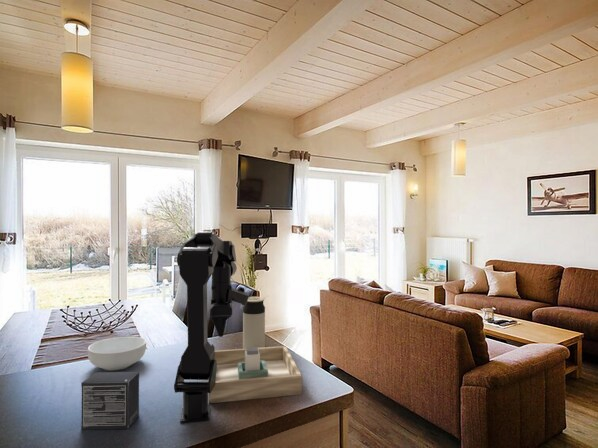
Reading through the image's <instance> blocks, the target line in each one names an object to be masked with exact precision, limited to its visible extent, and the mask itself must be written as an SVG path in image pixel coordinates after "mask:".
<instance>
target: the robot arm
mask: <svg viewBox="0 0 598 448" xmlns="http://www.w3.org/2000/svg"><path fill="white" fill-rule="evenodd" d="M235 249H236V248H235V245H234V244H233V242H232V240H222V239H221V238H220V237H219V236H217V234H216V232H213V231H196V232H195V233H194V234H193V237H191V238H190V239H188V240H186V241H185V242H184V243H182V245H181V246H180V249H179V251H178V254H177V257H176V262H177V263H176V264H177V266H178V270H179V275H180V277H181V279H182V280H183V281H184V284H185V285H186V292H187V293H186V300H187V302H186V303H187V304H186V305H187V306H186V309H187V313H186V314H187V347H185V350H184V351H183V353H182V355H181V356H180V361H179V364H178V366H177V370H176V374H175V380H174V382H173V383H174V384H173V390H174V393H175V394H176V393H177V394H178V393H182V408H181V413H180V418H179V423H191V422H200V421H201V422H202V421H208V420H210V414H211V413H210V412H211V411H210V410H211V405H210V403H209V393H211V391H212V390H213V388H214V386H215V382H216V370H217V361H216V360H215V354H214V352H215V351H216V349H215V346H214V344H211V343H210V342H209V340H208V337H209V336H208V282H209V280H210V278H211V297H210V308H209V315H210V318H211V321H212V323H213V325H214V327H215V330H216V333H217V335H218V337H219V338H222V337H223V336H224V334H225V328H226V324H227V320H228V319H229V318H231V317H232V315H233V306H232V303H233V302H235V303H238V304H241V305H242V306H244V305H246V303H247V301H248V298H249V297H250V295H249V293H248V292H245V287H243V286H239V287H237V288H233V287H232V284H231V281H232V280H231V277H232V276H234V275H235V274H236V272H237V269H238V268H237V264H236V262H237V256H236V254H237V253H236V250H235ZM185 380H187V381H185ZM188 380H189V381H188ZM191 380H192V381H191ZM193 380H195V381H193ZM196 380H197V381H196ZM199 380H200V381H199ZM201 380H202V381H201Z"/></svg>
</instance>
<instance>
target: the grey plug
mask: <svg viewBox="0 0 598 448" xmlns="http://www.w3.org/2000/svg"><path fill="white" fill-rule="evenodd" d="M251 370H260V353H259V350H258V348H257V347H250V348H246V351H245V371H251Z"/></svg>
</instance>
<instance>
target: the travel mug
mask: <svg viewBox="0 0 598 448" xmlns="http://www.w3.org/2000/svg"><path fill="white" fill-rule="evenodd" d="M264 301H265V298H264V297H262V296H249V298H248V301H247V303H246V305H243V309H242V349H246V348H250V347H257V348H261V347H266V344H265V343H266V307H265V304H264Z"/></svg>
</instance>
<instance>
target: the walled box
mask: <svg viewBox="0 0 598 448" xmlns="http://www.w3.org/2000/svg"><path fill="white" fill-rule="evenodd" d="M258 350H259V353H260V370H251V371H245V351H246V349H244V348H236V349H221V350H215V352H214V354H215V360H216V361H217V370H216V382H215V386H214V388H213V390H212V391H211V393H208V404H215V403H217V404H218V403H225V402H235V401H236V402H237V401H247V400H256V399H266V398H267V399H268V398H277V397H287V396H296V395H302V391H303V389H302V387H303V386H302V383H303V381H302V378H303V377H302V376H303V375H302V373H301V372H300V369H299V368H298V366H297V364H296V362H295V360H294V358H293V357H292V354H291V353H290V351H289V350H288V347H287V346H286V345H281V346H280V345H279V346H278V345H277V346H265V347H261V348H258Z"/></svg>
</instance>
